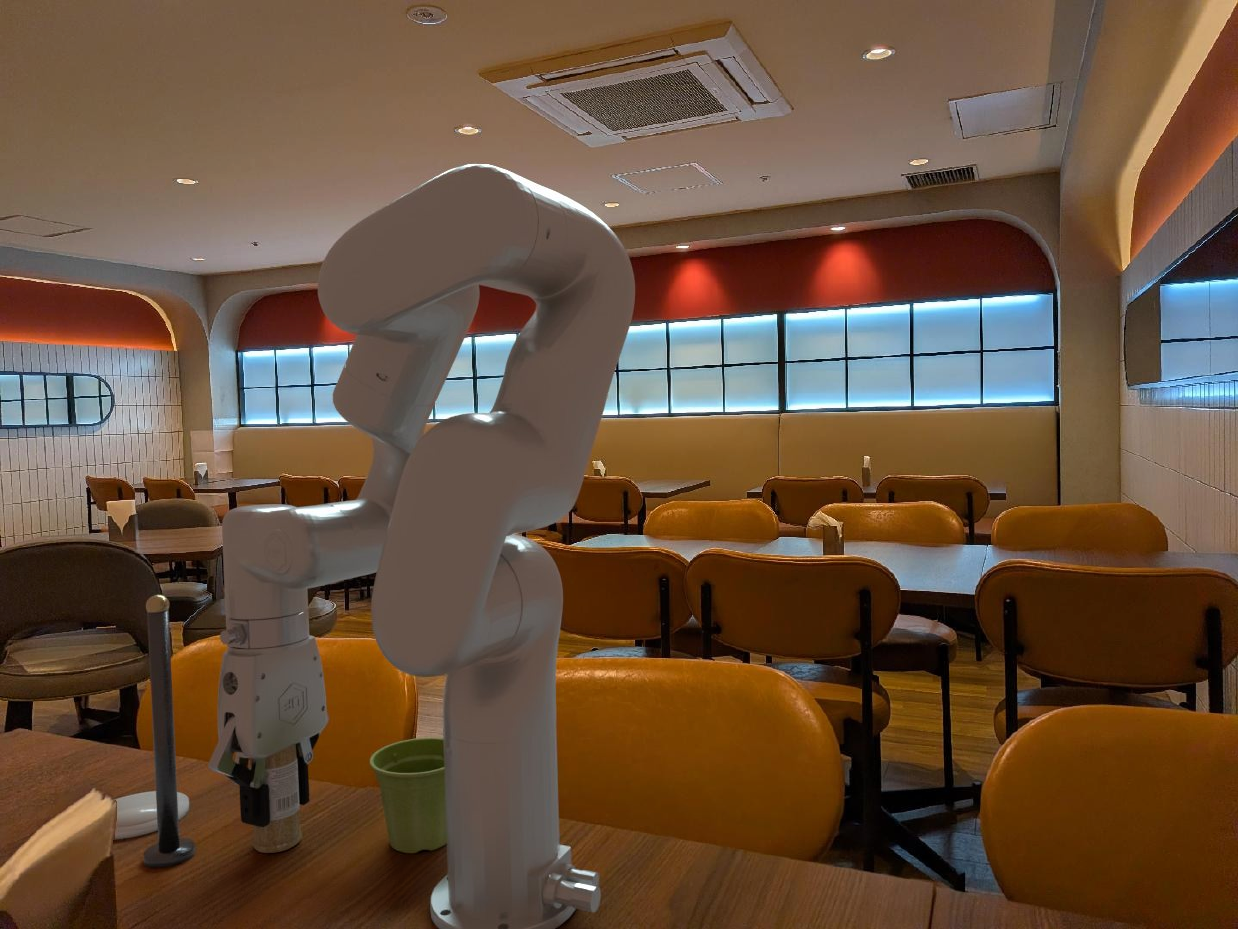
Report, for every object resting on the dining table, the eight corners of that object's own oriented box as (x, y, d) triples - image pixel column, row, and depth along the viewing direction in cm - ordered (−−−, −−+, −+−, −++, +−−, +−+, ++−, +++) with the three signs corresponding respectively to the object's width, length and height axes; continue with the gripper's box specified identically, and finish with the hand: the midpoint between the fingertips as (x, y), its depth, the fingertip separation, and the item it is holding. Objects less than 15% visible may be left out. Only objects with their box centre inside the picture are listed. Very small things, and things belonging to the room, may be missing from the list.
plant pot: (487, 827, 88) (485, 744, 88) (430, 871, 80) (427, 779, 79) (413, 812, 92) (411, 732, 92) (352, 853, 84) (348, 764, 83)
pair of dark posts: (306, 795, 97) (297, 569, 96) (165, 871, 81) (152, 600, 80) (277, 789, 99) (268, 568, 98) (133, 863, 83) (120, 598, 81)
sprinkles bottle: (292, 829, 89) (286, 700, 88) (308, 844, 85) (302, 711, 85) (246, 843, 86) (239, 710, 85) (260, 860, 82) (254, 722, 82)
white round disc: (209, 805, 95) (209, 797, 95) (125, 847, 86) (125, 837, 86) (147, 792, 99) (146, 784, 99) (60, 830, 90) (60, 821, 90)
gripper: (225, 655, 76) (234, 859, 76) (357, 615, 91) (363, 785, 92) (165, 648, 79) (175, 844, 79) (302, 610, 94) (309, 775, 95)
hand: (276, 810), depth 86 cm, fingers closed on sprinkles bottle, 4 cm apart
